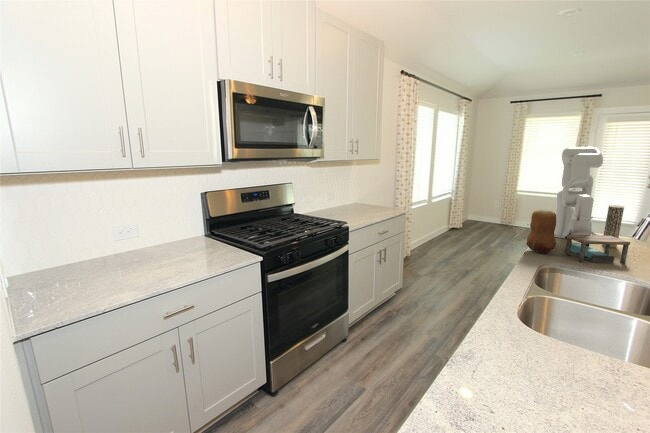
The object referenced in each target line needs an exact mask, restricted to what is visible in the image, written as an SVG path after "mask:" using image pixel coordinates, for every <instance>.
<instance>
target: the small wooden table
mask: <svg viewBox="0 0 650 433" xmlns="http://www.w3.org/2000/svg"><path fill="white" fill-rule="evenodd" d="M574 241H575V242H576V243H580V244H581V249H580V253H575V256H577V257H578V261H579V263H584V261H588V262H590V263H593V264H594V263H597V264H614V260H615V256H614V255H610V249H611V247H610V245H617V246H619V245H620V246H622V251H621V256H620V259H619V263H620V264H624V265H625V264H626V261H627V256H628V252H629V246H630V245H631V241H628V240H625V239H622V238H616V237H613V236H605V235H604V234H603V235H601V234H600V235H599V234H598V235H597V234H596V235H592V234H591V235H567V240H566V242H567V244H566V243H565V251H564V256H567V257H569V256H570V254H571V251H570V248H571V242H572V243H573V242H574ZM586 244H589V245H602V244H606V245H605V246H604V252H603V253H605V254H607V256H593V255H592V257H591V258H589V257H586V256H584V255H585V249H586Z"/></svg>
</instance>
